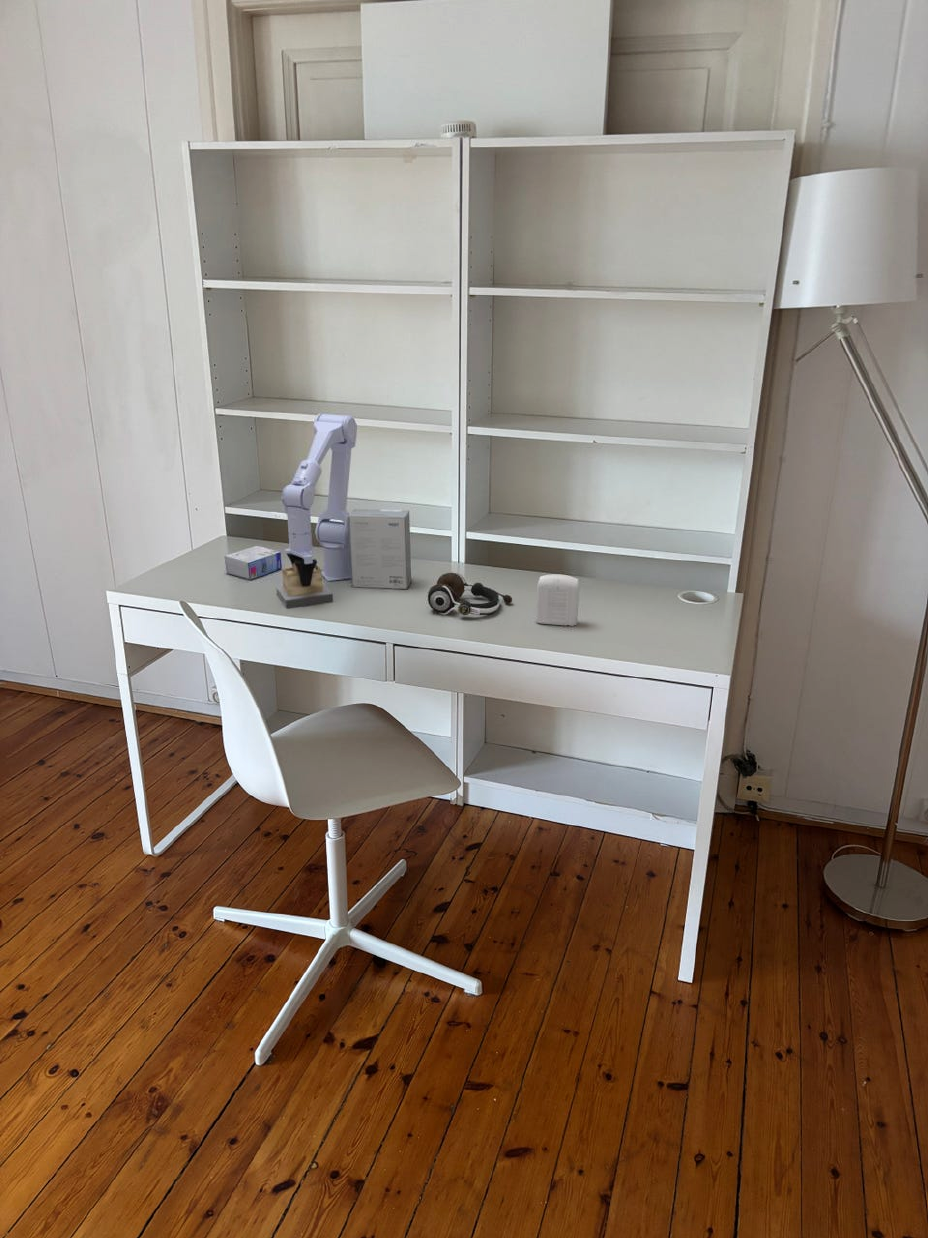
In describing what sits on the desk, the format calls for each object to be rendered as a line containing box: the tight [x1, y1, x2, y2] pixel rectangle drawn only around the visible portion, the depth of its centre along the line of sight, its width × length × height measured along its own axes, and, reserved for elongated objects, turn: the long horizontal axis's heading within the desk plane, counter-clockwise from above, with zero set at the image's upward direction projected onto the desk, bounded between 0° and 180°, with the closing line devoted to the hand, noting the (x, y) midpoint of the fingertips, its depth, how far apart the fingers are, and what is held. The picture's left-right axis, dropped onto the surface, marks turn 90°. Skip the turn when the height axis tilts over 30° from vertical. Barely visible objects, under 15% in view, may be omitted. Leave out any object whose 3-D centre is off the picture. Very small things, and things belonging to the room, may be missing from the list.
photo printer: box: [534, 573, 581, 627], centre depth 218 cm, size 10×4×12 cm, turn 81°
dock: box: [276, 582, 334, 609], centre depth 234 cm, size 12×11×2 cm
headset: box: [427, 571, 513, 616], centre depth 228 cm, size 17×8×20 cm
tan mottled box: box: [281, 564, 323, 596], centre depth 233 cm, size 9×5×6 cm, turn 114°
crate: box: [293, 563, 299, 573], centre depth 231 cm, size 3×3×2 cm
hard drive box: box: [348, 508, 412, 590], centre depth 241 cm, size 16×8×20 cm, turn 84°
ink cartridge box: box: [224, 545, 283, 581], centre depth 253 cm, size 10×6×14 cm
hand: (303, 582), depth 233 cm, fingers open, 5 cm apart
